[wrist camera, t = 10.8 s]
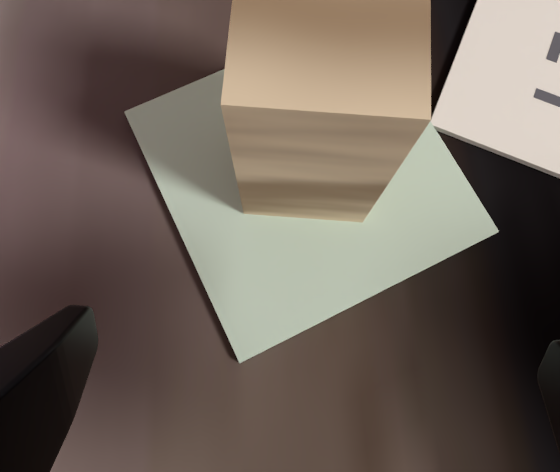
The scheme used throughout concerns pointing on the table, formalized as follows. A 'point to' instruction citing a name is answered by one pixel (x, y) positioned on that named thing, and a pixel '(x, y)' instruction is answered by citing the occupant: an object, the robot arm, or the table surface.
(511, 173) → the table surface
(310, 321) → the felt mat
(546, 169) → the tile
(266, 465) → the table surface
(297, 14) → the oak block
